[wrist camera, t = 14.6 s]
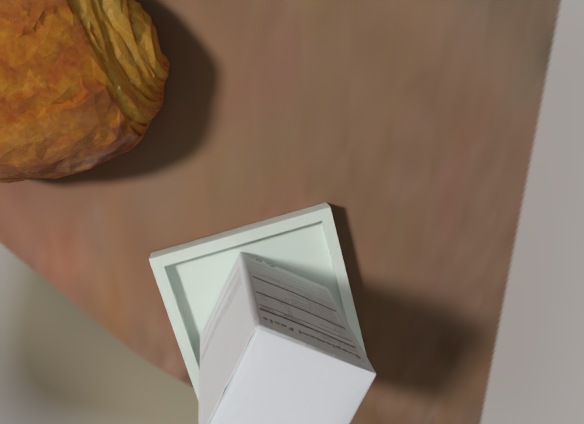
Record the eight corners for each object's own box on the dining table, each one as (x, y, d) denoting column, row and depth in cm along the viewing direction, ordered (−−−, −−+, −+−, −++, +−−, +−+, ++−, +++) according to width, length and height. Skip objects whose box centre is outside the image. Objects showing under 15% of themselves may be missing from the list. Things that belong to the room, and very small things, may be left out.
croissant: (182, 143, 40) (196, 160, 33) (-54, 190, 36) (-98, 222, 29) (134, -77, 36) (137, -114, 28) (-138, -48, 32) (-216, -82, 25)
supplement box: (286, 368, 42) (318, 488, 30) (197, 334, 41) (191, 446, 29) (331, 285, 41) (382, 375, 29) (240, 246, 39) (254, 324, 27)
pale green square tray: (150, 252, 39) (148, 259, 38) (326, 202, 40) (330, 206, 39) (204, 406, 43) (203, 416, 41) (364, 356, 44) (369, 365, 42)
